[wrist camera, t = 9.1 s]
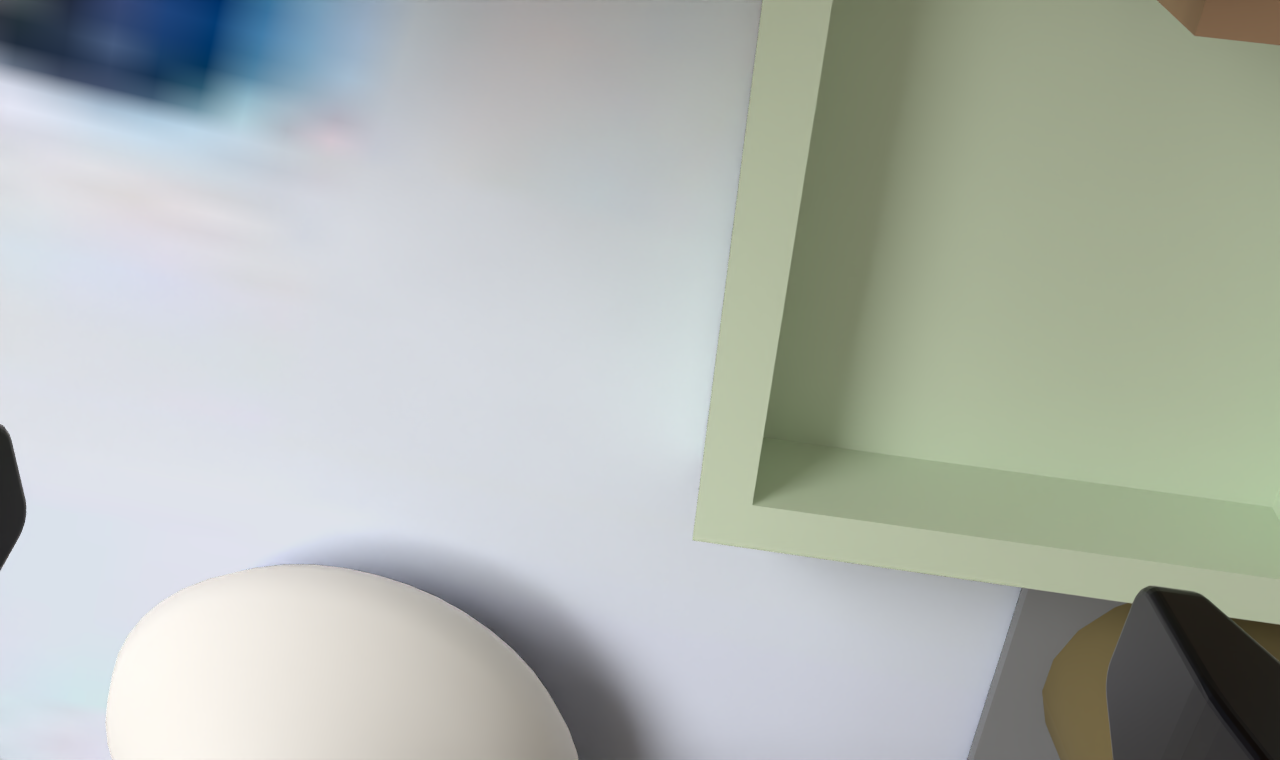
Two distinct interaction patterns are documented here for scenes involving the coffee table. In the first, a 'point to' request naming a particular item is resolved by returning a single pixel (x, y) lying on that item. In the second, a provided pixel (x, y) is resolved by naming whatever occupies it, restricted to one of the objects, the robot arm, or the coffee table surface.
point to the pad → (1030, 674)
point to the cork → (1102, 684)
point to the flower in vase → (323, 676)
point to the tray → (1005, 300)
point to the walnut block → (1229, 19)
